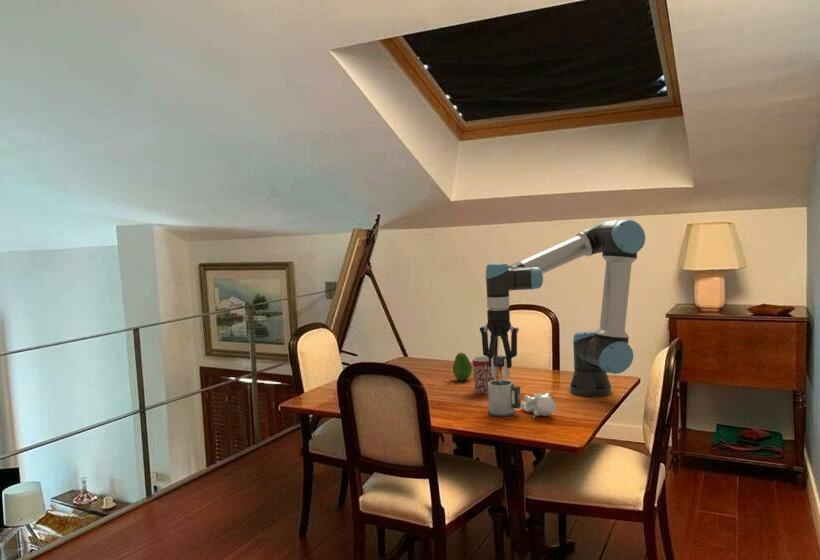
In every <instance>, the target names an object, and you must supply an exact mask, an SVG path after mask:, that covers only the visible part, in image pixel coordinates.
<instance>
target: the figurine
mask: <svg viewBox="0 0 820 560" xmlns="http://www.w3.org/2000/svg"><path fill="white" fill-rule="evenodd" d="M532 395H533V396H531V395H528V394H526V395H524V396H523V400H524V401H520V402H521V407H520V408H521V410H524V411H525V412H527V413H530V412H532V411H533V414H534V415H533V416H532V418H536V417H540V416H542V417H547V416H550V415H552V414H553V413H554V412H555V411H556V407H557V405H556V401H555V399H554V398H553V396H552V395H551V391H548V392H545V393H544V392H538V394H536V393H532Z"/></svg>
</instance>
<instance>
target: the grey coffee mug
mask: <svg viewBox="0 0 820 560" xmlns="http://www.w3.org/2000/svg"><path fill="white" fill-rule="evenodd" d="M487 396H488V411H487V413H488V415H490V416H492V417H496V418H500V417H501V418H505V417H511V416H512V417H513V416H514V415H516V409H520V408H521V402H522V401H521V386H518V385H515V384H514V382H513V381H512V380H509V379H502V385H500V383H499V379H494V381H490V382H488V395H487Z"/></svg>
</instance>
